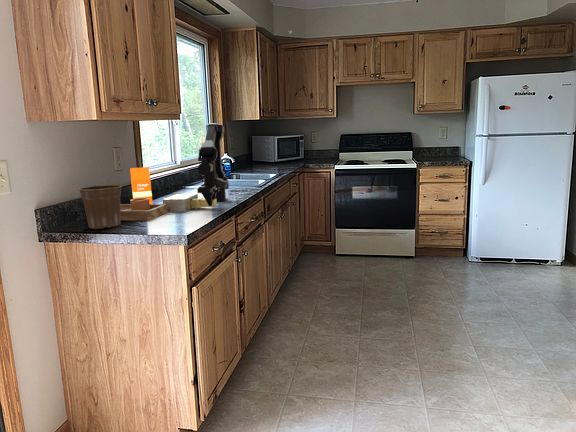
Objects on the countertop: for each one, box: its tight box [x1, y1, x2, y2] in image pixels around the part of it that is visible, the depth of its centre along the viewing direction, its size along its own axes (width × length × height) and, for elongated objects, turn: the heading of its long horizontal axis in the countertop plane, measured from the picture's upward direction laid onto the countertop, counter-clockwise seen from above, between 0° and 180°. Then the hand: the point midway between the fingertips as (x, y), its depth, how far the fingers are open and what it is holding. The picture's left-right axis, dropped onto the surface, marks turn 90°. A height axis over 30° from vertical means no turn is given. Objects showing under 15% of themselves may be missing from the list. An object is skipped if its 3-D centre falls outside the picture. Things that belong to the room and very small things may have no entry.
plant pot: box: [78, 184, 123, 230], centre depth 182 cm, size 16×16×16 cm
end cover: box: [190, 197, 218, 209], centre depth 215 cm, size 5×16×4 cm, turn 80°
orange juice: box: [130, 166, 154, 204], centre depth 223 cm, size 8×9×20 cm
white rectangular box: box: [162, 193, 199, 213], centre depth 217 cm, size 16×11×6 cm
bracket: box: [122, 198, 150, 211], centre depth 203 cm, size 18×8×7 cm, turn 146°
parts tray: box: [120, 203, 169, 221], centre depth 203 cm, size 17×26×4 cm, turn 80°
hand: (211, 205), depth 215 cm, fingers closed on end cover, 3 cm apart
